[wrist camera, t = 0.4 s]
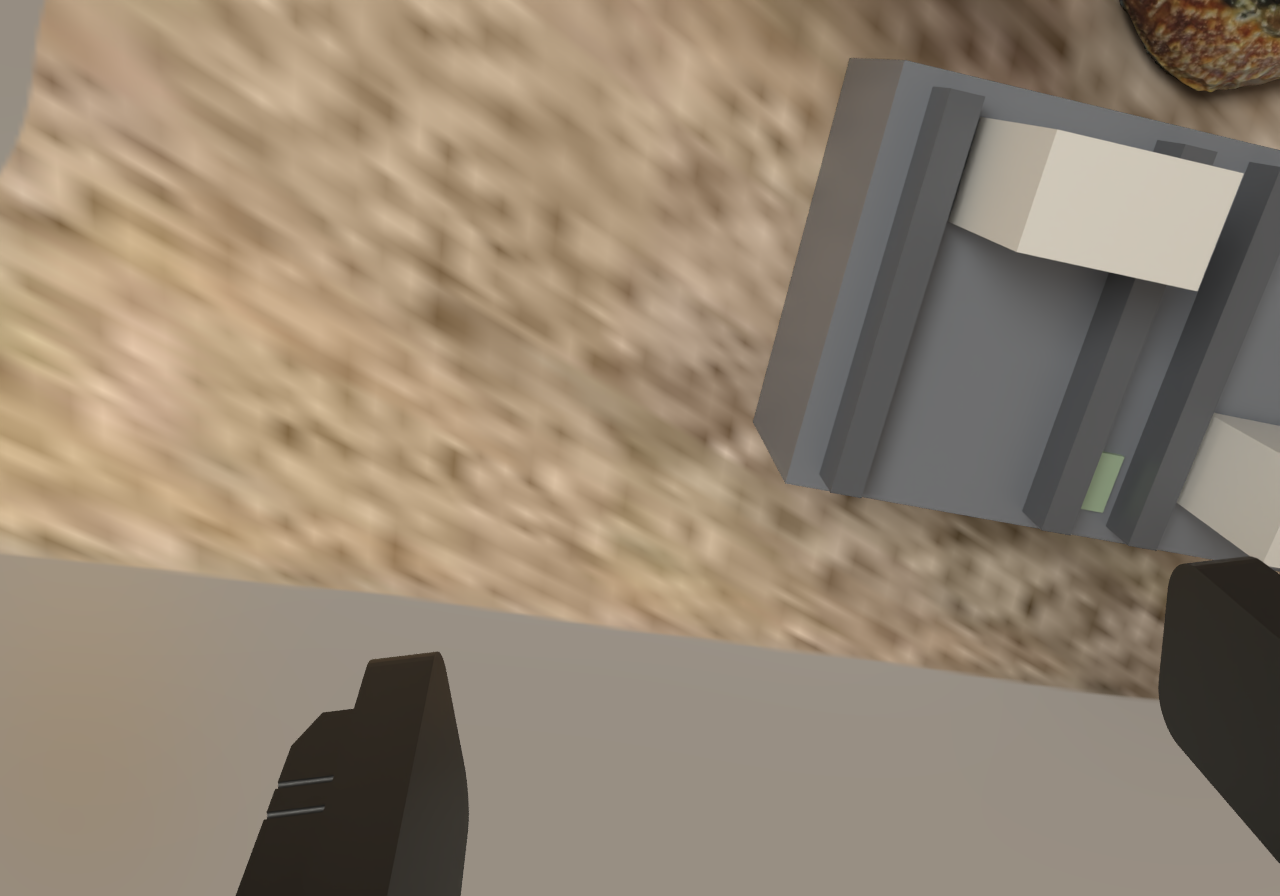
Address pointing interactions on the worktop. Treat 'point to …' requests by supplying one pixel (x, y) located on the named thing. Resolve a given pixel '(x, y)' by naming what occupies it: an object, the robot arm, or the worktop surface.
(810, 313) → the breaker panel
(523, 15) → the worktop surface
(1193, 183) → the block
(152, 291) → the worktop surface
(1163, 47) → the bread roll
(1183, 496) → the breaker
